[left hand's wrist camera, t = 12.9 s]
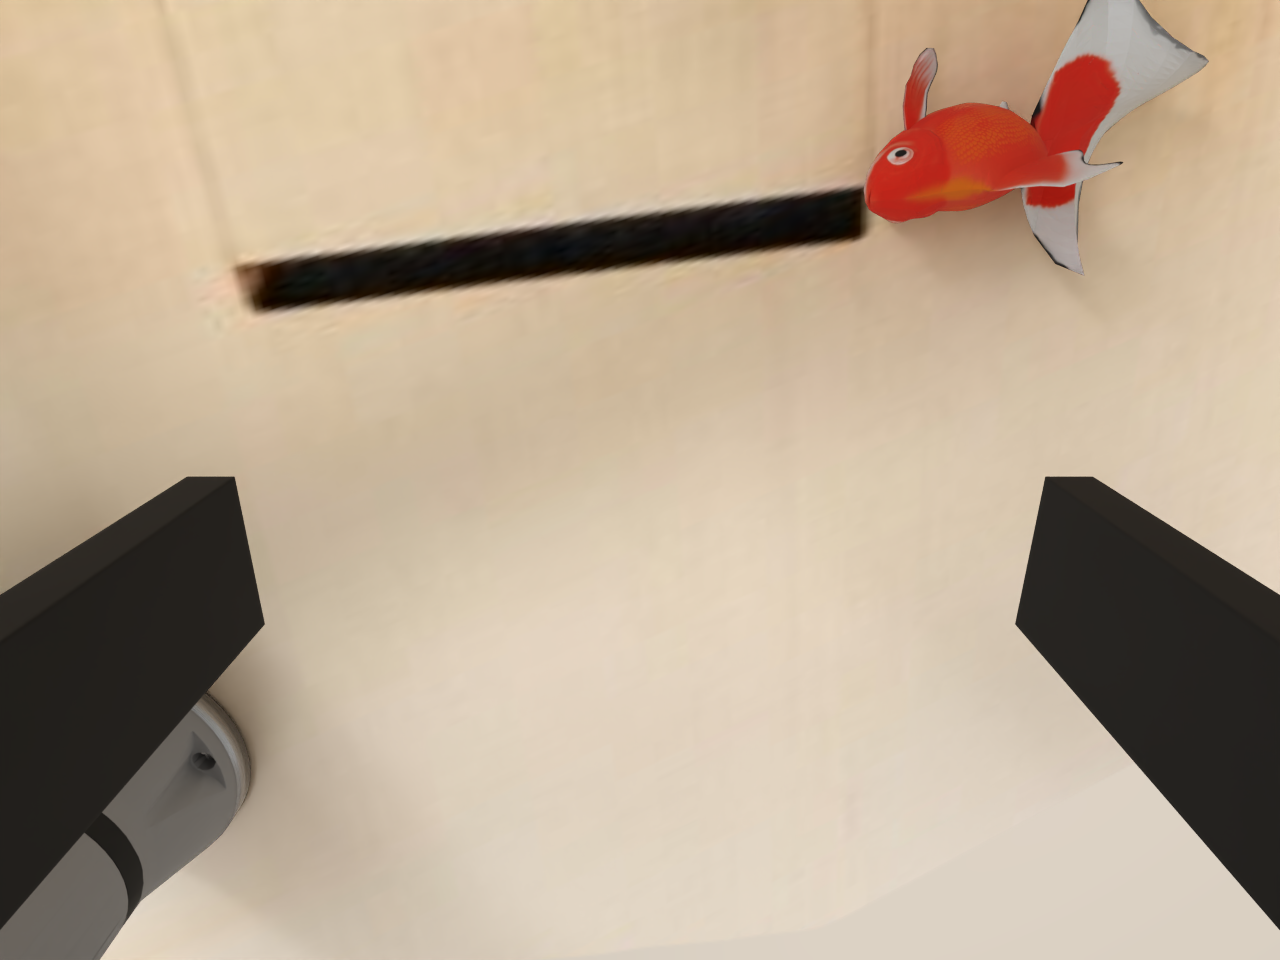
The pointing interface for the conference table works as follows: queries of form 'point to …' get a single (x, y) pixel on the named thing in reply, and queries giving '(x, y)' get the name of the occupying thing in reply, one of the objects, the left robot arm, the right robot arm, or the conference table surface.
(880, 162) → the fish
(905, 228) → the conference table surface
